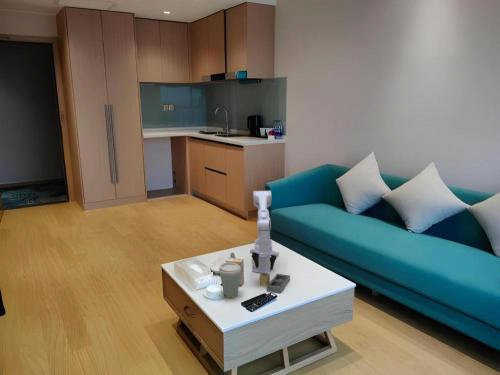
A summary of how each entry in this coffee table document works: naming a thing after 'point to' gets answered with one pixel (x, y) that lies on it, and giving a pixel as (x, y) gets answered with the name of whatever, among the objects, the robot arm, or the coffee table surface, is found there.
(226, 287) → the disposable coffee cup
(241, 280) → the supplement box
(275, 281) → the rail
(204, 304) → the coffee table surface
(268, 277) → the wooden block
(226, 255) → the spoon rest
